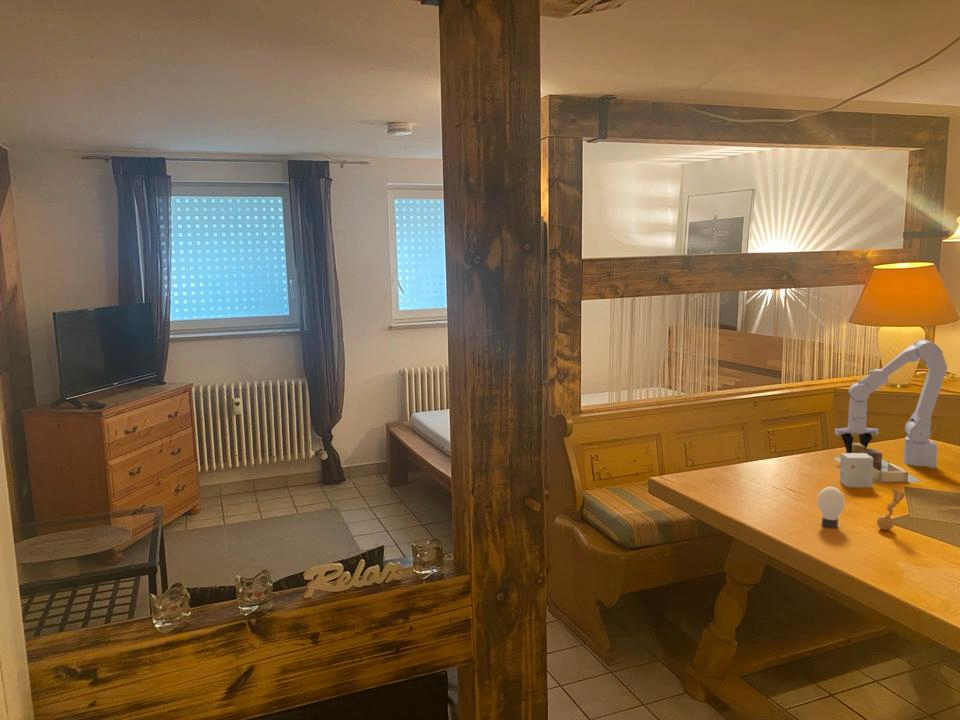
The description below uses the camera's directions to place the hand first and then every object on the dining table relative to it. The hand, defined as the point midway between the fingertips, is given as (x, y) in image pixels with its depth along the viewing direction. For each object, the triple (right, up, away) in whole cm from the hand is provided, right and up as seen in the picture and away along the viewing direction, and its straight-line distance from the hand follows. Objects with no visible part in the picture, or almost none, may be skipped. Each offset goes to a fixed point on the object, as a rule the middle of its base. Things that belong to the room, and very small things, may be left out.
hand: (855, 453), depth 254 cm
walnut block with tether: (0, -2, -6) cm, 6 cm away
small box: (-15, -7, -27) cm, 32 cm away
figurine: (-25, -13, -63) cm, 69 cm away
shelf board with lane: (0, -4, -12) cm, 13 cm away
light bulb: (-38, -12, -59) cm, 71 cm away
